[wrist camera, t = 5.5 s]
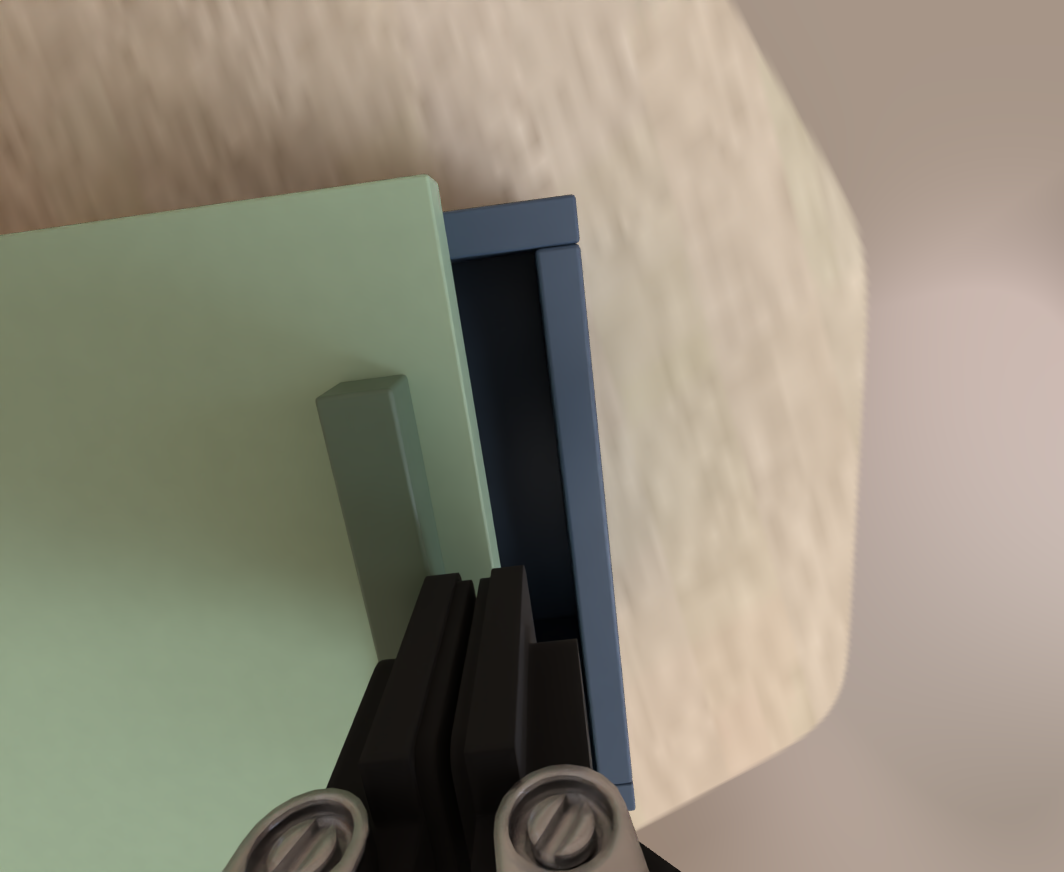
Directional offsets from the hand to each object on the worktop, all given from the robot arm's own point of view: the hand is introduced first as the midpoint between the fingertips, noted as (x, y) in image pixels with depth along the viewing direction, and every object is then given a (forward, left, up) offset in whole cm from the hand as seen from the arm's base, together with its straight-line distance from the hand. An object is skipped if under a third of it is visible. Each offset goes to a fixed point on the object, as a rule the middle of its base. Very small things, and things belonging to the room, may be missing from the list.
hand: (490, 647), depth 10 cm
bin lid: (0, -7, -2) cm, 8 cm away
